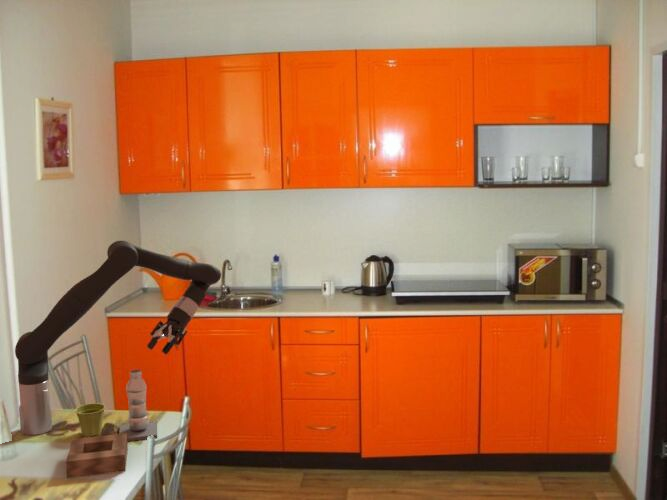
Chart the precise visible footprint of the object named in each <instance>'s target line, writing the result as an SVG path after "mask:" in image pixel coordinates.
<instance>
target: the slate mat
mask: <svg viewBox="0 0 667 500" xmlns="http://www.w3.org/2000/svg"><path fill="white" fill-rule="evenodd" d="M118 431H119V432H118V434H125V433H127V442H130V441H137V440H138V441H141V440H148V439H147V437H148V436H151V435H153V436H154V437H155V438H154V439H156V438H158V421H157V420H156V421H155V420H154V421H149V425H148V427H147V428H146V429H144V430H141V431H133V430H131V429H130V428H129V425H128V423H127V424H120V425H119V430H118Z"/></svg>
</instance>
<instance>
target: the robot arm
mask: <svg viewBox="0 0 667 500" xmlns="http://www.w3.org/2000/svg"><path fill="white" fill-rule="evenodd" d="M107 248H108V249H107V252H106V253H107V254H106V255H107V258H106V260H105V261H104V262H103V263H102V264H101V266H100V267H99V268H97V269H96V270H95V271H94V272H93V273H92V274H90V275H88V276H86V277H84V278H83V279H81V280H80V281H78V282H77V283H76V284H74V285H73V286H72V287H71V288H70V289H69V290H67V292H65V294H63V296H61V298H60V299H59V300H58V301H57V303H56V304H55V305H54V307H52V309H51V310H50V312H49V313H48V315H47V316H46V317H45V318H44V320H43V321H42V322H41V323H40V324H39V325H38V326H37V327H36V328H34V329H33V330H32V331H27V332H26V333H23V334H22V335H21V336H20V337H19V338H18V340H17V343H16V345H15V347H14V354H15V357H16V360H17V362H18V363H17V365H18V367H17V369H18V371H17V379H18V380H17V381H18V390H19V391H18V393H19V404H20V405H19V407H18V414H19V424H20V427H19V428H20V435H26V436H35V435H42V434H45V433H48V432H50V431H51V430H52V429H53V420H52V407H51V406H52V405H51V392H50V381H49V380H50V379H49V377H50V376H49V355H48V351H49V350H50V349H51V348H52V346H53V345H54V344H55V343H56V342H57V341H58V340H59V338H60V337H61V336H62V335H63V334H64V333H66V332H67V331H68V330H69V329H70V328H72V326H74V325H75V324H76V323H77V322H78V321H79V320H80V319H81V318H83V317H84V316H85V315H86V314H87V313H88V312H90V310H91V309H92V308H93V306H95V304H96V303H97V302H98V301H99V300H100V299H101V298H102V297H103V296H104V295H105V294H106V293H107V291H108V290H109V289H110V288H111V287H112V286H114V284H116V283H117V282H118V281H119V280H120V279H121V278H122V277H124V276H126V274H128V272H130V271H131V270H132V269H134V268H135V267H140V268H144V269H147V270H150V271H153V272H156V273H159V274H161V275H164V276H167V277H169V278H174V279H177V280H183V281H191V282H190V284H189V286H188V287H187V288H186V290H185V291H184V293H183V294H182V296H181V297H180V298H179V299H178V301H176V303H175V304H174V305H173V307H172V308H171V310H170V311H169V313H168V314H167V316H166V321H165V322H163V321H161V320H159V321H158V323H157V324H156V325H155V327H154V328H153V329H152V331H151V332H150V336H151V339H150V340H149V342H148V343H147V345H146V347H147V349H149V350H151V351H152V350H154V348H155V347H156V345H157V344H158V341H159V340H161V339H165V338H168V341H167V342H166V344H165V345H164V346H163V348H162V349H161V353H163V354H164V355H168V354H169V352H170V351H171V350H172V348H173V347H174V346H176V345H177V346H180V344H181V342H182V341H183V339H184V338H185V336H186V334H187V333H188V330H187V329H186V328H187V326H188V325H189V324H190V322H191V320H192V319H193V317H194V316H195V314H196V313H197V311H198V309H199V308H200V306H201V305H202V303H203V301H204V299H205V298H206V292H207V291H208V289H209V288H210V287H211V286H213V285H215V284H217V283H219V281H220V279H221V278H222V273H221V270H220V269H219V267H217V266H216V265H214V264H209V263H205V262H204V263H203V262H194V261H190V260H187V259H183V258H178V257H174V256H170V255H166V254H162V253H158V252H157V253H156V252H154V251H151V250H147V249H145V248H142V247H140V246H137V245H134V243H131V242H128V241H127V240H116V241H114V242H112V243H111V244H109V246H108V247H107Z"/></svg>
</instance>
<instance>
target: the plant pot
mask: <svg viewBox="0 0 667 500" xmlns="http://www.w3.org/2000/svg"><path fill="white" fill-rule="evenodd" d="M105 409H106V405H105V404H103V403H98V402H97V403H96V402H95V403H94V402H93V403H86V404H82V405H80V406H77V407H76V408H75V410H74V412H75V414H76V416H77V418H78V423H79V426H80V431H81V435H82V436H84V437H95V435H96V436H97V435H100V434H101V433H102V431H103V430H102V427H103V418H104V413H105V412H104V411H105Z"/></svg>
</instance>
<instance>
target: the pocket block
mask: <svg viewBox="0 0 667 500" xmlns="http://www.w3.org/2000/svg"><path fill="white" fill-rule="evenodd" d="M128 451H129V449H128V441H127V433H125V434H119V433H117V434H108V435H99V436H91V437H90V436H88V437H81V438H72V439H71V443H70V446H69V449H68V453H67V456H66V460H65V469H66V470H65V472H66V479H72V478H80V477H88V476H95V475H96V476H97V475H103V474H111V473H112V474H113V473H118V472H119V473H120V472H121V473H122V472H126V469H127V458H128Z"/></svg>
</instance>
